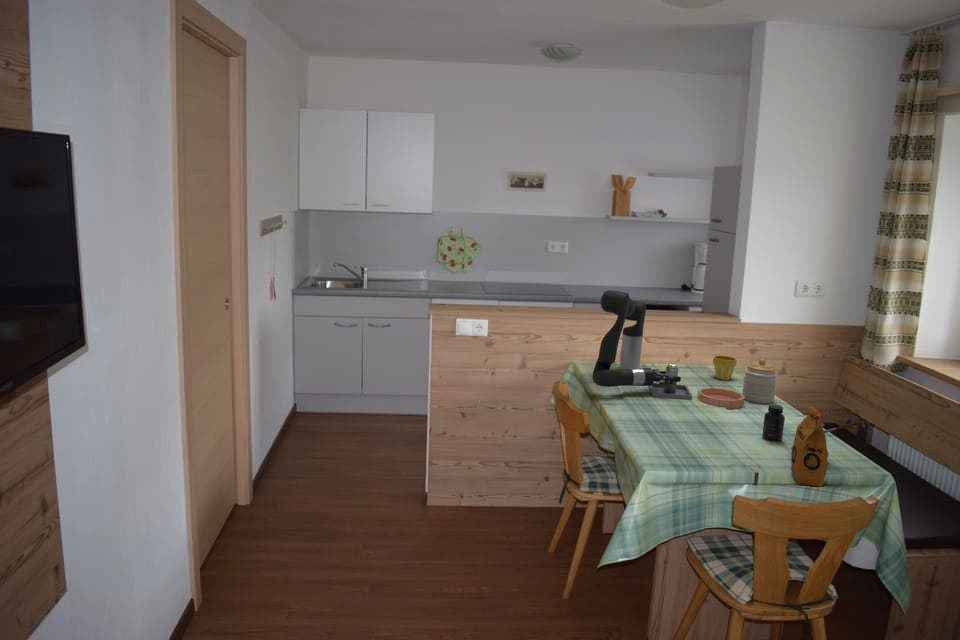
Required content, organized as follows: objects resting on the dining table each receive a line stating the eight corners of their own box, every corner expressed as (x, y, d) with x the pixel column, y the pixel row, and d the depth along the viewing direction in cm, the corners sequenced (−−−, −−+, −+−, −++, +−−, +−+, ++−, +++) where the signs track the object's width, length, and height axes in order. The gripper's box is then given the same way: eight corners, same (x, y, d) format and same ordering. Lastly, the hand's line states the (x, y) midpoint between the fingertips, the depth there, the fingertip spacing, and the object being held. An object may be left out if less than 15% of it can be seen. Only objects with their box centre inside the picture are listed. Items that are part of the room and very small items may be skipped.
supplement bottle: (765, 433, 276) (769, 402, 274) (784, 438, 272) (789, 406, 270) (758, 438, 271) (763, 406, 269) (778, 443, 267) (782, 410, 265)
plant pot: (706, 375, 355) (708, 355, 353) (723, 374, 360) (725, 354, 358) (722, 381, 346) (724, 361, 344) (739, 380, 350) (741, 359, 348)
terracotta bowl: (701, 406, 306) (702, 398, 305) (694, 394, 323) (695, 386, 323) (747, 410, 304) (748, 402, 303) (737, 397, 322) (738, 389, 321)
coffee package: (791, 483, 231) (800, 414, 227) (787, 469, 243) (796, 403, 238) (826, 489, 228) (836, 419, 224) (821, 474, 240) (831, 407, 236)
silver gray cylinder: (664, 393, 318) (667, 365, 316) (662, 390, 323) (665, 362, 321) (676, 394, 318) (679, 366, 315) (674, 391, 323) (677, 363, 320)
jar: (776, 405, 313) (781, 364, 310) (743, 402, 316) (748, 360, 312) (771, 396, 326) (776, 356, 322) (739, 393, 328) (744, 353, 325)
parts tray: (652, 398, 314) (652, 392, 313) (648, 387, 329) (648, 382, 329) (691, 401, 312) (692, 395, 311) (685, 390, 328) (686, 385, 327)
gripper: (648, 372, 308) (684, 372, 312) (633, 363, 321) (668, 363, 326) (647, 390, 309) (682, 389, 313) (631, 380, 323) (666, 380, 327)
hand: (675, 376), depth 320 cm, fingers open, 8 cm apart
